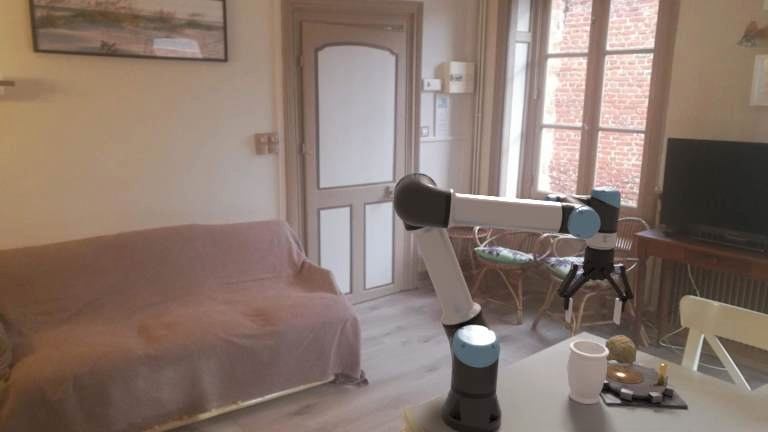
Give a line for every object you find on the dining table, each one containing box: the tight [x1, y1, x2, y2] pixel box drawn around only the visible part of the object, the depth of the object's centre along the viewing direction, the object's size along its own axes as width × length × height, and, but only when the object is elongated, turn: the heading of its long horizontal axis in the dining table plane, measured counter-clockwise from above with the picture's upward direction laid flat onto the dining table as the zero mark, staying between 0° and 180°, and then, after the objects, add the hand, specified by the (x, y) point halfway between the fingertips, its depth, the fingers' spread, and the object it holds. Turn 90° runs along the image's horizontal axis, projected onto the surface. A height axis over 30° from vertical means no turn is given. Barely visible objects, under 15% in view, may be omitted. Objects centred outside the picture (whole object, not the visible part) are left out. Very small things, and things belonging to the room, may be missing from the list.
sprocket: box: [602, 360, 675, 403], centre depth 172 cm, size 22×22×8 cm
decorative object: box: [604, 334, 637, 364], centre depth 190 cm, size 9×10×10 cm
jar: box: [566, 339, 609, 405], centre depth 165 cm, size 11×10×15 cm
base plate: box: [599, 367, 689, 409], centre depth 173 cm, size 22×22×1 cm
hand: (591, 321), depth 162 cm, fingers open, 12 cm apart
